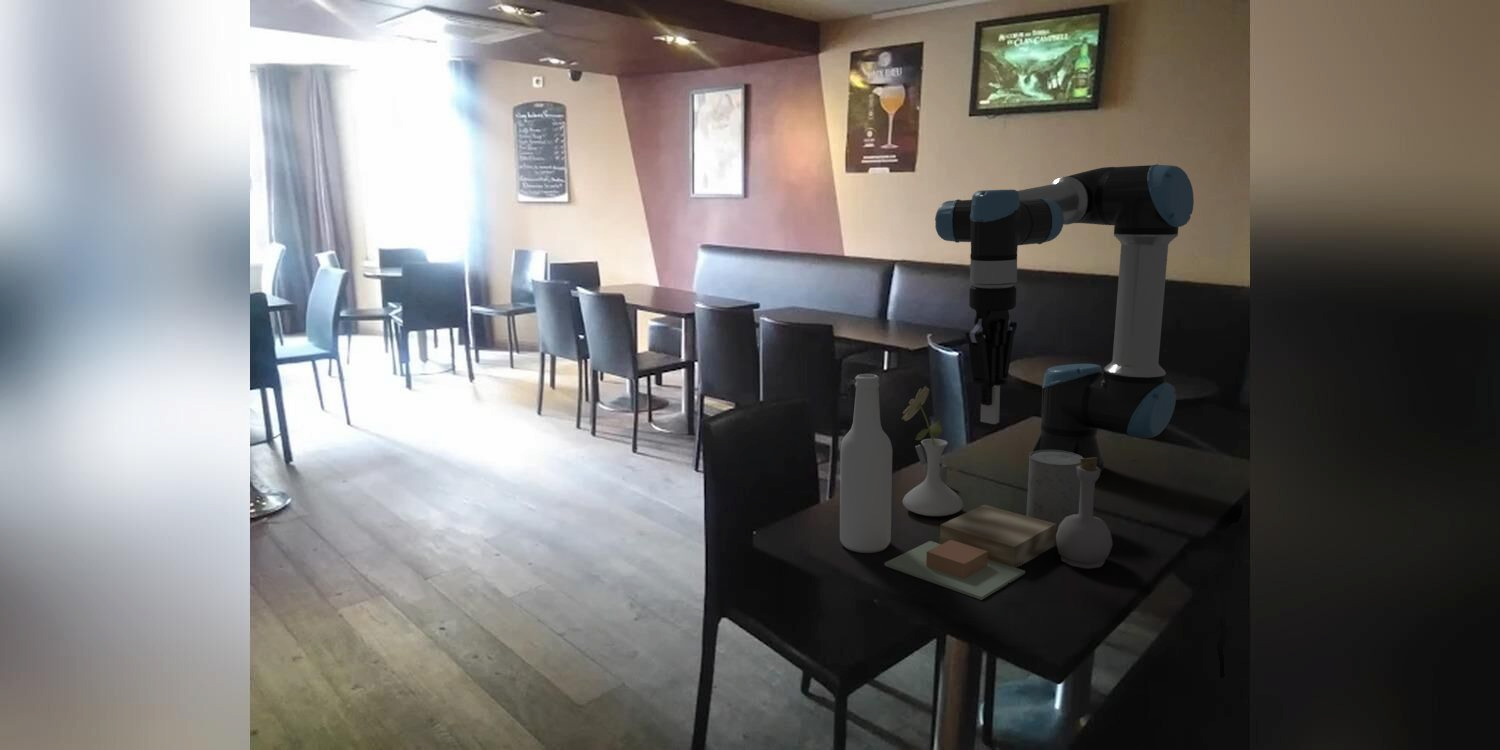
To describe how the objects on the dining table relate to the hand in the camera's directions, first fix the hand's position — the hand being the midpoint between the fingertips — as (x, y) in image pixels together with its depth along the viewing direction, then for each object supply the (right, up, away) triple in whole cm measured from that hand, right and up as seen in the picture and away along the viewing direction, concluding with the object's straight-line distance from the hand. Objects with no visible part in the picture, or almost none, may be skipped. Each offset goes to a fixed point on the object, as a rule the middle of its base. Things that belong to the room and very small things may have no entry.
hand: (989, 421), depth 150 cm
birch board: (+2, -22, +1) cm, 22 cm away
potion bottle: (+14, -23, -5) cm, 27 cm away
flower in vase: (-7, -18, +18) cm, 27 cm away
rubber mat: (-8, -24, -8) cm, 26 cm away
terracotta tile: (-8, -23, -8) cm, 25 cm away
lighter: (-3, -15, +35) cm, 38 cm away
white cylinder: (+15, -19, +13) cm, 28 cm away
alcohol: (-21, -22, +3) cm, 30 cm away
